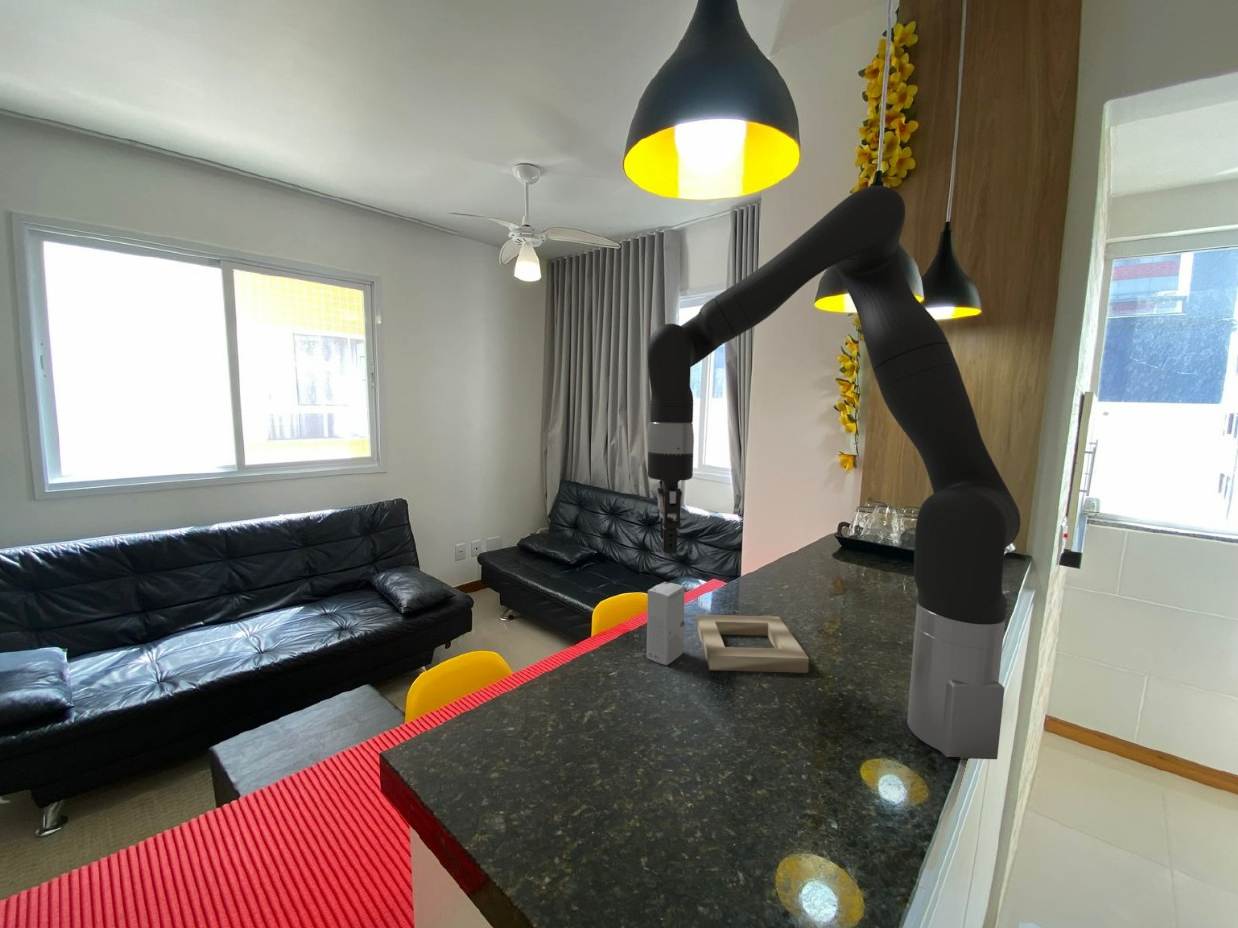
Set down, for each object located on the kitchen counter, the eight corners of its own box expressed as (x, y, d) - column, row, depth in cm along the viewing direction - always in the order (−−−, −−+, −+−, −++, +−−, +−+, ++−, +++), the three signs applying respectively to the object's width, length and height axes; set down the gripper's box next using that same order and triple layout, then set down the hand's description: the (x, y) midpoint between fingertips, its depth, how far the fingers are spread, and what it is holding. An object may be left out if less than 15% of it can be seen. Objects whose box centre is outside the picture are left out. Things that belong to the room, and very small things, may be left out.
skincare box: (667, 666, 79) (669, 596, 78) (644, 658, 81) (646, 590, 80) (684, 652, 84) (686, 585, 82) (662, 644, 86) (664, 580, 85)
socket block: (808, 672, 77) (808, 658, 77) (709, 669, 78) (710, 655, 78) (778, 628, 93) (778, 616, 93) (696, 626, 94) (696, 614, 94)
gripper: (699, 454, 72) (695, 558, 73) (688, 447, 86) (685, 535, 88) (649, 453, 72) (647, 557, 74) (646, 446, 86) (644, 534, 88)
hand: (668, 545), depth 81 cm, fingers open, 8 cm apart
